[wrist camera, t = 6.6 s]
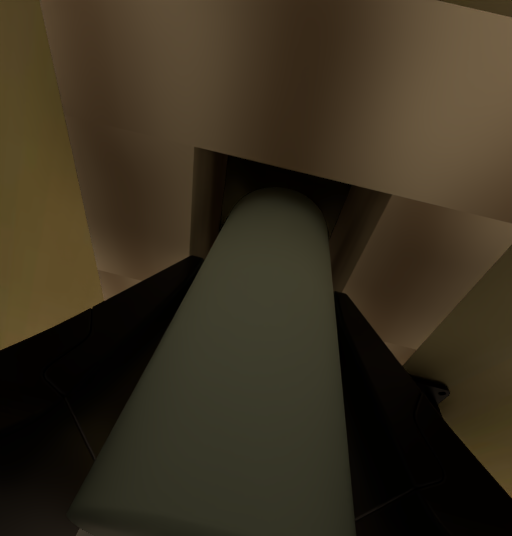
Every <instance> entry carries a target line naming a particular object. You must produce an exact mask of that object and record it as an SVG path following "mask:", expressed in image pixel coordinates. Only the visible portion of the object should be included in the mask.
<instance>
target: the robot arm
mask: <svg viewBox="0 0 512 536" xmlns="http://www.w3.org/2000/svg"><path fill="white" fill-rule="evenodd" d="M203 262H204V259H203V258H202V257H198V256H194V255H191V256H189V257H187V258H185V259H183V260H181V261H179V262H177V263H175V264H173V265H171V266H170V267H168V268H166V269H164V270H162V271H160V272H158V273H156V274H154V275H152V276H151V277H149V278H147V279H145V280H143V281H141V282H139V283H137V284H135V285H133V286H132V287H130V288H128V289H126V290H124V291H122V292H120V293H118V294H116V295H114V296H113V297H111V298H109V299H107V300H105V301H103V302H101V303H99V304H97V305H95V306H94V307H93V308H92V309H91V308H90V309H88V310H86V311H84V312H82V313H80V314H78V315H76V316H74V317H72V318H70V319H68V320H66V321H64V322H62V323H60V324H58V325H56V326H54V327H52V328H50V329H48V330H45V331H43V332H41V333H39V334H37V335H34V336H32V337H30V338H28V339H25V340H23V341H21V342H19V343H16V344H14V345H12V346H9V347H7V348H5V349H2V350H0V536H76V534H77V532H78V530H79V527H78V526H76V525H75V524H74V523H72V522H71V521H70V520H69V519H68V517H67V514H66V513H67V511H68V509H69V508H70V506H71V504H72V502H73V500H74V498H75V497H76V495H77V493H78V491H79V489H80V487H81V486H82V484H83V482H84V480H85V478H86V476H87V475H88V473H89V471H90V469H91V467H92V465H93V464H94V462H95V460H96V458H97V456H98V454H99V453H100V451H101V449H102V447H103V445H104V443H105V442H106V440H107V438H108V436H109V434H110V432H111V431H112V429H113V427H114V425H115V423H116V421H117V420H118V418H119V416H120V414H121V412H122V410H123V409H124V407H125V405H126V403H127V401H128V400H129V398H130V396H131V394H132V392H133V390H134V389H135V387H136V385H137V383H138V381H139V379H140V378H141V376H142V374H143V372H144V370H145V368H146V367H147V365H148V363H149V361H150V359H151V357H152V356H153V354H154V352H155V350H156V348H157V346H158V345H159V343H160V341H161V339H162V337H163V335H164V334H165V332H166V330H167V328H168V326H169V324H170V323H171V321H172V319H173V317H174V315H175V313H176V312H177V310H178V308H179V306H180V304H181V302H182V301H183V299H184V297H185V295H186V293H187V291H188V290H189V288H190V286H191V284H192V282H193V280H194V279H195V277H196V275H197V273H198V271H199V269H200V268H201V266H202V264H203ZM333 293H334V303H335V314H336V325H337V335H338V346H339V357H340V367H341V378H342V389H343V399H344V410H345V421H346V431H347V442H348V453H349V463H350V474H351V485H352V495H353V506H354V517H355V527H356V536H512V498H511V497H510V496H509V495H508V494H507V493H506V491H505V490H504V489H503V488H502V487H501V486H500V485H499V483H498V482H497V481H496V480H495V479H494V478H493V477H492V475H491V474H490V473H489V472H488V471H487V470H486V469H485V467H484V466H483V465H482V464H481V463H480V462H479V461H478V459H477V458H476V457H475V456H474V455H473V454H472V453H471V451H470V450H469V449H468V448H467V447H466V446H465V444H464V443H463V442H462V441H461V440H460V439H459V437H458V436H457V435H456V434H455V433H454V431H453V430H452V429H451V428H450V427H449V425H448V424H447V423H446V422H445V420H444V419H443V418H442V415H441V412H440V409H439V407H438V404H439V403H440V402H441V401H442V400H444V399H445V398H446V397H447V396H449V394H450V392H449V389H448V387H447V386H445V385H442V384H438V383H434V382H430V381H427V380H423V379H419V378H415V377H411V376H410V375H409V374H408V373H407V372H406V370H405V369H404V368H403V366H402V365H401V364H400V362H399V361H398V360H397V359H396V357H395V356H394V355H393V353H392V352H391V351H390V349H389V348H388V347H387V346H386V344H385V343H384V342H383V340H382V339H381V338H380V336H379V335H378V334H377V332H376V331H375V330H374V329H373V327H372V326H371V325H370V323H369V322H368V321H367V319H366V318H365V317H364V316H363V314H362V313H361V312H360V310H359V309H358V308H357V306H356V305H355V304H354V303H353V301H352V300H351V299H350V297H349V296H348V295H347V294H346V293H342V292H338V291H333Z"/></svg>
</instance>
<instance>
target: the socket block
mask: <svg viewBox="0 0 512 536" xmlns="http://www.w3.org/2000/svg"><path fill="white" fill-rule="evenodd" d="M40 5H41V9H42V14H43V19H44V23H45V28H46V33H47V37H48V42H49V46H50V51H51V56H52V60H53V65H54V70H55V74H56V79H57V84H58V88H59V93H60V97H61V102H62V107H63V111H64V116H65V121H66V125H67V130H68V135H69V139H70V144H71V148H72V153H73V158H74V162H75V167H76V172H77V176H78V181H79V185H80V190H81V195H82V199H83V204H84V209H85V213H86V218H87V223H88V227H89V232H90V236H91V241H92V246H93V250H94V255H95V260H96V264H97V269H98V274H99V278H100V283H101V287H102V292H103V297H104V301H105V300H107V299H109V298H111V297H113V296H114V295H116V294H118V293H120V292H122V291H124V290H126V289H128V288H130V287H132V286H133V285H135V284H137V283H139V282H141V281H143V280H145V279H147V278H149V277H151V276H152V275H154V274H156V273H158V272H160V271H162V270H164V269H166V268H168V267H170V266H171V265H173V264H175V263H177V262H179V261H181V260H183V259H185V258H187V257H189V256H191V255H194V256H198V257H202V258H203V259H204V260H205V258H206V257H207V255H208V253H209V251H210V249H211V247H212V246H213V244H214V242H215V240H216V238H217V236H218V235H219V228H220V219H221V211H222V203H223V194H224V186H225V177H226V169H227V160H228V155H232V156H236V157H240V158H244V159H248V160H252V161H256V162H260V163H265V164H269V165H273V166H277V167H281V168H285V169H289V170H293V171H298V172H302V173H306V174H310V175H314V176H318V177H322V178H326V179H330V180H335V181H339V182H343V183H347V184H351V185H352V186H351V189H350V191H349V193H348V196H347V198H346V201H345V203H344V206H343V208H342V210H341V213H340V215H339V218H338V220H337V223H336V225H335V227H334V230H333V232H332V235H331V237H330V239H329V250H330V261H331V271H332V282H333V291H338V292H342V293H346V294H347V295H348V296H349V297H350V299H351V300H352V301H353V303H354V304H355V305H356V306H357V308H358V309H359V310H360V312H361V313H362V314H363V316H364V317H365V318H366V319H367V321H368V322H369V323H370V325H371V326H372V327H373V329H374V330H375V331H376V332H377V334H378V335H379V336H380V338H381V339H382V340H383V342H384V343H385V344H386V346H387V347H388V348H389V349H390V351H391V352H392V353H393V355H394V356H395V357H396V359H397V360H398V361H399V362H400V364H401V365H403V364H404V363H405V362H406V361H407V360H408V359H409V358H410V357H411V355H412V354H413V353H414V352H415V351H416V350H417V349H418V348H419V347H420V346H421V344H422V343H423V342H424V341H425V340H426V339H427V338H428V337H429V336H430V334H431V333H432V332H433V331H434V330H435V329H436V328H437V327H438V326H439V324H440V323H441V322H442V321H443V320H444V319H445V318H446V317H447V316H448V315H449V313H450V312H451V311H452V310H453V309H454V308H455V307H456V306H457V305H458V303H459V302H460V301H461V300H462V299H463V298H464V297H465V296H466V295H467V294H468V292H469V291H470V290H471V289H472V288H473V287H474V286H475V285H476V284H477V282H478V281H479V280H480V279H481V278H482V277H483V276H484V275H485V274H486V272H487V271H488V270H489V269H490V268H491V267H492V266H493V265H494V264H495V263H496V261H497V260H498V259H499V258H500V257H501V256H502V255H503V254H504V253H505V251H506V250H507V249H508V248H509V247H510V246H511V245H512V17H507V16H503V15H499V14H494V13H490V12H486V11H481V10H477V9H473V8H468V7H464V6H460V5H455V4H451V3H447V2H442V1H438V0H40Z"/></svg>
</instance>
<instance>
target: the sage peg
mask: <svg viewBox="0 0 512 536" xmlns="http://www.w3.org/2000/svg"><path fill="white" fill-rule="evenodd" d="M66 514H67V517H68V519H69V520H70V521H71V522H72V523H74V524H75V525H76V526H78V527H79V528H81V529H82V530H84V531H86V532H88V533H90V534H92V535H94V536H356V527H355V517H354V506H353V495H352V485H351V474H350V463H349V453H348V442H347V431H346V421H345V410H344V399H343V389H342V378H341V367H340V357H339V346H338V335H337V325H336V314H335V303H334V293H333V282H332V271H331V261H330V250H329V239H328V230H327V224H326V221H325V218H324V216H323V214H322V212H321V211H320V209H319V208H318V206H317V205H316V204H315V203H314V202H313V201H312V200H310V199H309V198H308V197H306V196H305V195H303V194H301V193H299V192H297V191H295V190H291V189H288V188H282V187H267V188H262V189H258V190H256V191H253V192H251V193H249V194H247V195H246V196H244V197H243V198H242V199H241V200H239V201H238V202H237V204H236V205H235V206H234V207H233V209H232V211H231V213H230V214H229V216H228V218H227V220H226V222H225V224H224V225H223V227H222V229H221V231H220V233H219V235H218V236H217V238H216V240H215V242H214V244H213V246H212V247H211V249H210V251H209V253H208V255H207V257H206V258H205V260H204V262H203V264H202V266H201V268H200V269H199V271H198V273H197V275H196V277H195V279H194V280H193V282H192V284H191V286H190V288H189V290H188V291H187V293H186V295H185V297H184V299H183V301H182V302H181V304H180V306H179V308H178V310H177V312H176V313H175V315H174V317H173V319H172V321H171V323H170V324H169V326H168V328H167V330H166V332H165V334H164V335H163V337H162V339H161V341H160V343H159V345H158V346H157V348H156V350H155V352H154V354H153V356H152V357H151V359H150V361H149V363H148V365H147V367H146V368H145V370H144V372H143V374H142V376H141V378H140V379H139V381H138V383H137V385H136V387H135V389H134V390H133V392H132V394H131V396H130V398H129V400H128V401H127V403H126V405H125V407H124V409H123V410H122V412H121V414H120V416H119V418H118V420H117V421H116V423H115V425H114V427H113V429H112V431H111V432H110V434H109V436H108V438H107V440H106V442H105V443H104V445H103V447H102V449H101V451H100V453H99V454H98V456H97V458H96V460H95V462H94V464H93V465H92V467H91V469H90V471H89V473H88V475H87V476H86V478H85V480H84V482H83V484H82V486H81V487H80V489H79V491H78V493H77V495H76V497H75V498H74V500H73V502H72V504H71V506H70V508H69V509H68V511H67V513H66Z"/></svg>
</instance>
